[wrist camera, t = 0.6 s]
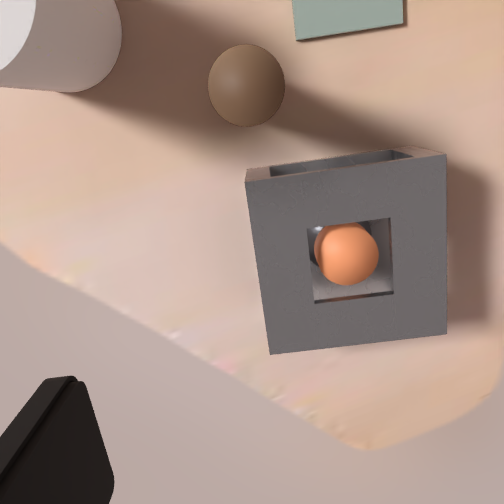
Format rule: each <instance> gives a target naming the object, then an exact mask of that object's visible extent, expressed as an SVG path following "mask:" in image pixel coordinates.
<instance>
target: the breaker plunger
mask: <svg viewBox="0 0 504 504" xmlns="http://www.w3.org/2000/svg"><path fill="white" fill-rule="evenodd" d="M314 254H315V257H316V260H317V262H318V265H319V268H320V270H321V272H322V273H323V275H324V276H325V277H326V278H327V279H328V280H330V281H332V282H334V283H336V284H340V285H353V284H357V283H359V282H362V281H363V280H365V279H366V278H368V277H369V276H370V275H371V274H372V272H373V271H374V269H375V268H376V266H377V263H378V258H379V251H378V247H377V244H376V242H375V240H374V239H373V238H372V237H371V235H370V234H369V233H368V232H367V231H366V230H365V229H364V228H363V227H362V226H361V225H360V224H358V223H356V222H353V223H345V224H338V225H330V226H325V227H324V228H323V229H322V230H321V231H320V232H319V234H318V236H317V237H316V240H315V244H314Z"/></svg>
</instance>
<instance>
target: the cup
mask: <svg viewBox="0 0 504 504" xmlns="http://www.w3.org/2000/svg"><path fill="white" fill-rule="evenodd" d="M121 41H122V27H121V20H120V15H119V12H118V9H117V6H116V3H115V1H114V0H0V87H7V88H19V89H31V90H43V91H56V92H79V91H83V90H86V89H89V88H91V87H93V86H95V85H97V84H98V83H99V82H101V81H102V80H103V79H104V78H105V77H106V76H107V75H108V74H109V73H110V71H111V70H112V68H113V67H114V65H115V63H116V61H117V58H118V55H119V52H120V48H121Z"/></svg>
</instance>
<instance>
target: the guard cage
mask: <svg viewBox="0 0 504 504" xmlns="http://www.w3.org/2000/svg"><path fill="white" fill-rule="evenodd" d="M245 188H246V195H247V202H248V208H249V215H250V222H251V229H252V236H253V242H254V249H255V256H256V263H257V270H258V277H259V283H260V290H261V297H262V304H263V311H264V317H265V324H266V331H267V338H268V345H269V352H270V355H273V354H282V353H290V352H299V351H307V350H316V349H325V348H333V347H342V346H350V345H359V344H367V343H376V342H384V341H393V340H401V339H410V338H418V337H427V336H436V335H444V334H447V185H446V154H444V153H440V152H436V151H432V150H428V149H424V148H420V147H416V146H406V147H399V148H392V149H385V150H378V151H371V152H364V153H357V154H350V155H343V156H335V157H328V158H321V159H314V160H307V161H300V162H293V163H286V164H279V165H272V166H265V167H258V168H250V169H247V172H246V177H245ZM353 222H356V223H358V224H360V225H361V226H362V227H363V228H364V229H365V230H366V231H367V232H368V233H369V234H370V235H371V237H372V238H373V239H374V240H375V242H376V244H377V247H378V251H379V258H378V263H377V266H376V268H375V269H374V271H373V272H372V274H371V275H370V276H369V277H368V278H366V279H365V280H363V281H362V282H359V283H357V284H353V285H340V284H336V283H334V282H332V281H330V280H328V279H327V278H326V277H325V276H324V275H323V273H322V272H321V270H320V268H319V265H318V262H317V260H316V257H315V254H314V244H315V240H316V237H317V236H318V234H319V232H320V231H321V230H322V229H323V228H324V227H325V226H330V225H338V224H345V223H353Z"/></svg>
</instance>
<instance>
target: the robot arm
mask: <svg viewBox="0 0 504 504" xmlns="http://www.w3.org/2000/svg"><path fill="white" fill-rule="evenodd" d="M113 489H114V475H113V471H112V468H111V465H110V462H109V459H108V455H107V452H106V449H105V446H104V442H103V439H102V436H101V433H100V430H99V426H98V423H97V420H96V417H95V413H94V410H93V407H92V404H91V401H90V398H89V394H88V391H87V388H86V385H85V384H84V382H82V381H78V380H77V379H76V377H74V376H64V377H56V378H48V379H45V380H44V381H43V382H42V384H41V385H40V386H39V387H38V389H37V390H36V392H35V393H34V394H33V395H32V397H31V398H30V399H29V400H28V402H27V403H26V404H25V406H24V407H23V408H22V409H21V411H20V412H19V413H18V415H17V416H16V417H15V419H14V420H13V421H12V422H11V424H10V425H9V426H8V428H7V429H6V430H5V432H4V433H3V434H2V435H1V437H0V504H109V502H110V499H111V496H112V493H113Z"/></svg>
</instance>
